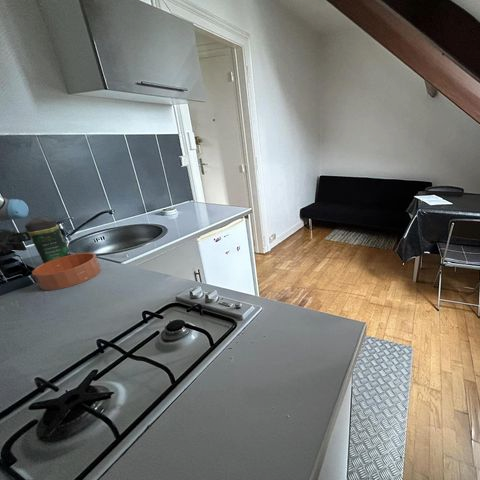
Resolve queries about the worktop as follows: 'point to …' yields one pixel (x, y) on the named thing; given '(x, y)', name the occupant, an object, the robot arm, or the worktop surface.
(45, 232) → the coffee jar
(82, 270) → the bowl
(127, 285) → the worktop surface
